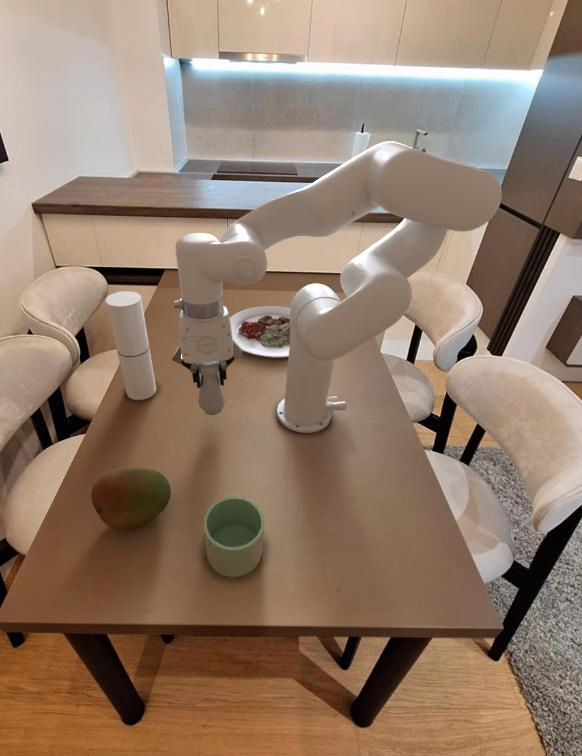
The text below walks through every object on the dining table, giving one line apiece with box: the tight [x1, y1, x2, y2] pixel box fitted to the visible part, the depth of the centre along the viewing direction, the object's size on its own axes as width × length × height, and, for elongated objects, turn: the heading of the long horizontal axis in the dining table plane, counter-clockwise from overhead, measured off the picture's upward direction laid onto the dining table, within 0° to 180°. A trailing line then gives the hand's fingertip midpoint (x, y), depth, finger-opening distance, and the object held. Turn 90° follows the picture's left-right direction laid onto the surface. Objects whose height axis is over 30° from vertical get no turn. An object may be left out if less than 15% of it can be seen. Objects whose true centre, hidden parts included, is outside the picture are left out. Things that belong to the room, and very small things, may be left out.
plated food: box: [229, 305, 291, 359], centre depth 121 cm, size 30×30×3 cm
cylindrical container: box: [105, 290, 157, 401], centre depth 92 cm, size 7×7×25 cm
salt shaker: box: [197, 361, 226, 416], centre depth 86 cm, size 6×6×13 cm
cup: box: [202, 496, 265, 578], centre depth 65 cm, size 9×9×8 cm
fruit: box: [90, 466, 172, 531], centre depth 69 cm, size 12×13×10 cm
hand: (210, 382), depth 85 cm, fingers closed on salt shaker, 4 cm apart
